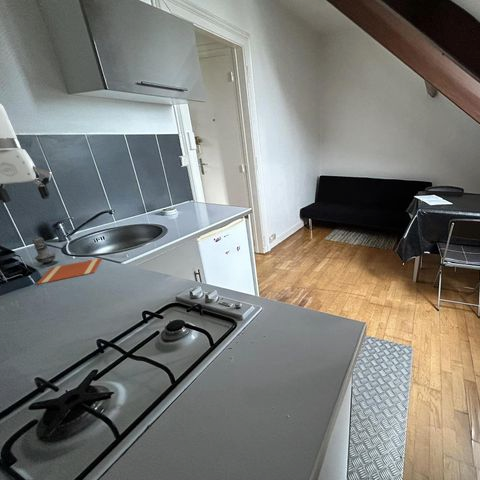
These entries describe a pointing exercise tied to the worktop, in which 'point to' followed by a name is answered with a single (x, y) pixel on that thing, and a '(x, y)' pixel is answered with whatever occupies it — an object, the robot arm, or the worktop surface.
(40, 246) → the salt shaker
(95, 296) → the worktop surface
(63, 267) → the towel
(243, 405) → the worktop surface
